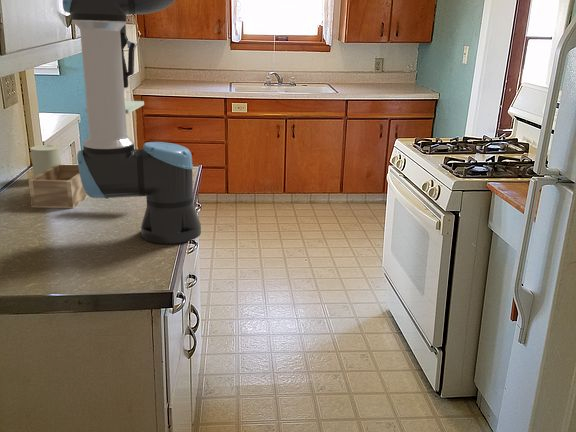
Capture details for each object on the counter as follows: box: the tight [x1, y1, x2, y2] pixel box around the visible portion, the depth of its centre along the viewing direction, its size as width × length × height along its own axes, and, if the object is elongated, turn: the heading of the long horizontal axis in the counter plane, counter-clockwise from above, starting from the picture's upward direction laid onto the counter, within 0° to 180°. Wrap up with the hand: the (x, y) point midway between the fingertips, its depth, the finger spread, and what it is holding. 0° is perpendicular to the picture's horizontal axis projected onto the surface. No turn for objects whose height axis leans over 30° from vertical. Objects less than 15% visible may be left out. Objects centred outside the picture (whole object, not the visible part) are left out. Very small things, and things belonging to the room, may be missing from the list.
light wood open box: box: [27, 164, 89, 209], centre depth 168 cm, size 20×12×8 cm, turn 0°
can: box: [30, 144, 62, 178], centre depth 185 cm, size 9×9×12 cm
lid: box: [85, 100, 145, 115], centre depth 173 cm, size 21×13×10 cm, turn 1°
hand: (117, 97), depth 175 cm, fingers closed on lid, 3 cm apart
